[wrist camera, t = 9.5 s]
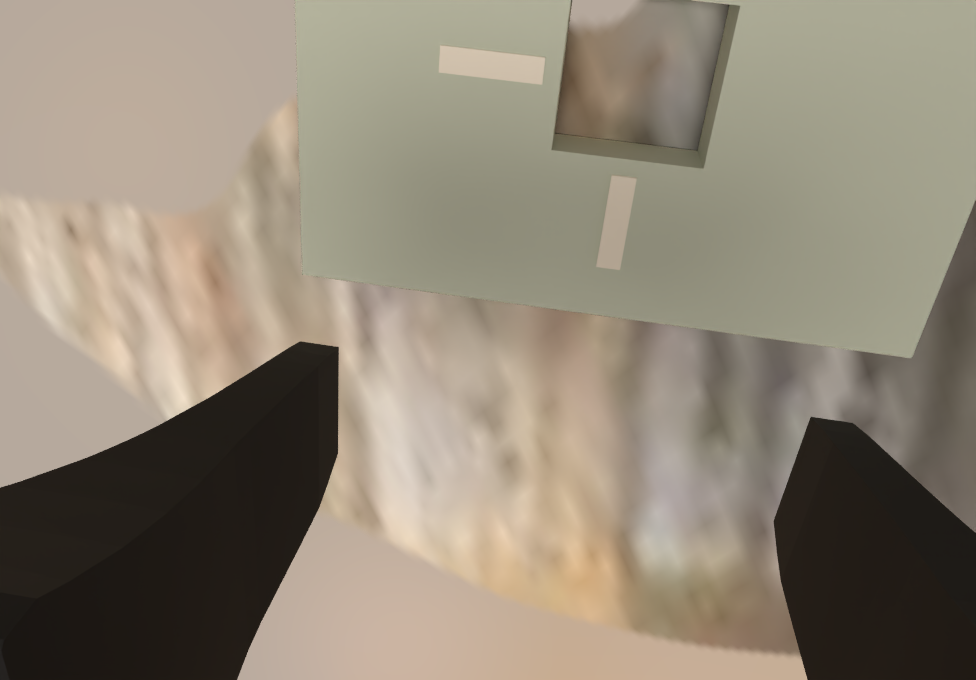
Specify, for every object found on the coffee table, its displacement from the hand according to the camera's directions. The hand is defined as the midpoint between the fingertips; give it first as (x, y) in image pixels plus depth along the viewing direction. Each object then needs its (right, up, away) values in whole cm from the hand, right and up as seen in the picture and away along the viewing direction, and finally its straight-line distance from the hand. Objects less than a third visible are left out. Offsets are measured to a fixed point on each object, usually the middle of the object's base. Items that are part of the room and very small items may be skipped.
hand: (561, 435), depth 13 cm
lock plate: (+3, +8, +7) cm, 11 cm away
